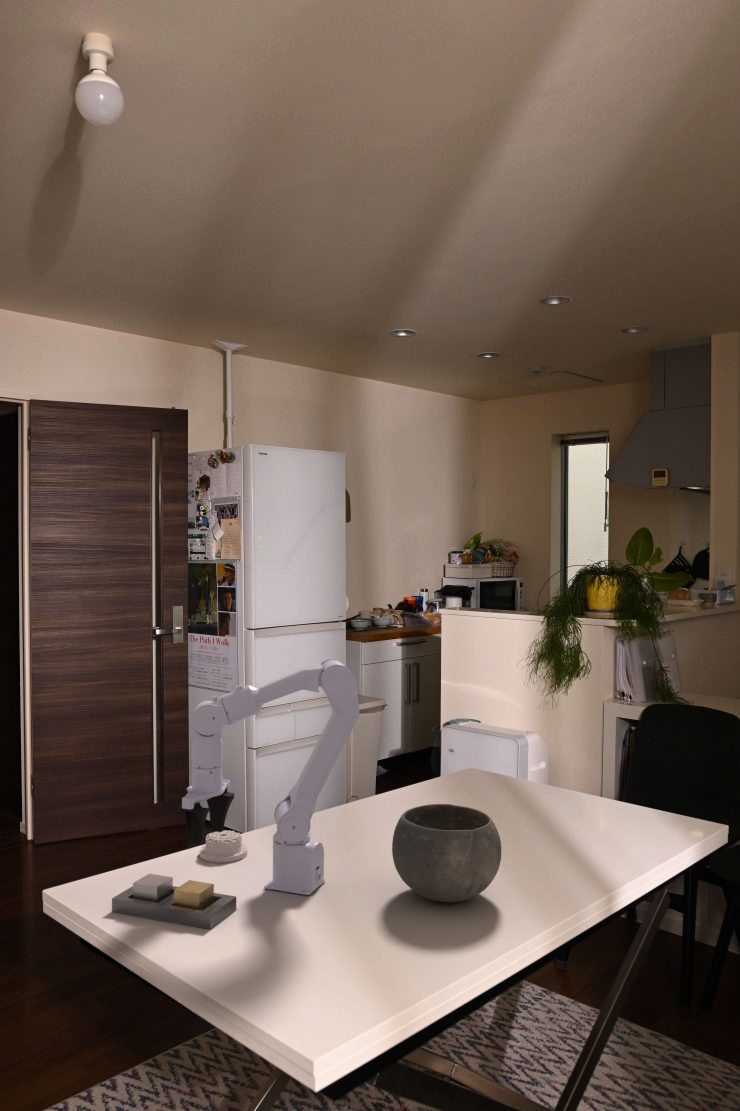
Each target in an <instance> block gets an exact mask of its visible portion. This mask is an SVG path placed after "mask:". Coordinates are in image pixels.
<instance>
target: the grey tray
mask: <svg viewBox="0 0 740 1111" xmlns="http://www.w3.org/2000/svg"><path fill="white" fill-rule="evenodd" d="M178 887H179V886H174V885H173V894H171V895H170V896H168V897H167V898H165V899H164V900H162V901H161V902H159V903H155V902H149V901H143V900H138V899H133V885H132V886H130V887H129V888H127V889H125V890H123V891H122V892H120V893H119V894H117V895H115V896H113V897H112V898H111V913H116V912H117V913H118V914H121V913H122V914H121V915H128V916H133V917H139V918H144V919H150V920H156V921H162V922H166V923H171V924H178V925H184V926H188V927H195V928H200V929H205V930H212V929H213V928H215V927H216V926H217V925H219V924H220V923H221V922H222V921H223V920H225V919H226V918H228V917H229V916H231V915H232V914H233V913H234V912H236V911H237V896H235V895H228V894H223V893H218V892H214V903H213V904H212V905H210V906H209V907H208V908H206V909H205V910H203V911H201V910H195V909H190V908H184V907H178V906H174V890H175V889H176V888H178Z"/></svg>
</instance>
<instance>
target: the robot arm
mask: <svg viewBox="0 0 740 1111" xmlns="http://www.w3.org/2000/svg"><path fill="white" fill-rule="evenodd" d="M320 687H321V690H323V692H324V693H325V695H326V696H327V699H328V703H329V705H330V708H331V711H332V713H331V715H330V717H329V719H328V721H327V723H326V725H325V726H324V729H323V730H322V732H321V734H320V736H319V738H318V740H317V742H316V743H315V745H314V748H313V750H312V752H311V754H310V755H309V758H308V759H307V762H306V763H305V766H304V768H303V769H302V771H301V773H300V775H299V777H298V778H297V781H296V783H295V784H294V785H293V787H292V788H291V789H290V790H289V791H288V792H287V795H286V797H285V798H283V799H282V800H280V801H279V802H278V804H277V805H276V806H275V809H274V812H273V813H274V816H273V817H274V820H275V823H276V832H275V833H274V834H273V835H272V879H271V880H270V881H268V882H267V883H266V884H264V886H263V888H264V889H267V890H273V891H274V890H275V891H279V892H285V893H294V894H299V895H305V896H309V895H311V894H312V893H313V892H314V891H315V890H317V889H318V888H319V887H320V886H321V885H322V884H324V883H325V882H326V879H325V878H324V876H325V875H324V874H325V872H324V870H325V867H324V866H325V865H324V864H325V863H324V862H325V850H324V846H323V843H322V842H320V841H315V840H314V839H313V838H311V837H312V836H311V833H310V831H311V819H312V817H313V815H314V814H315V811H316V806H317V801H318V797H319V796H320V794H321V792H322V790H323V788H324V786H325V784H326V782H327V781H328V778H329V776H330V775H331V772H332V771H333V768H334V767H335V765H336V762H337V761H338V759H339V756H340V755H341V753H342V750H343V749H344V747H345V744H346V743H347V741H348V739H349V737H350V735H351V733H352V732H353V729H354V727H355V725H356V723H357V721H358V719H359V717H360V705H359V696H358V695H359V694H358V687H359V686H358V683H357V680H356V678H355V677H354V674H353V672H352V671H351V670H350V668H348V667H347V665H345V664H344V662H343V661H341V660H340V659H336V658H328V659H325V660H323V661H321V663H320V662H316V663H312V664H309V665H306V666H305V667H301V668H299V669H297V670H294V671H293V672H290V673H288V674H286V675H284V676H282V677H280V678H277V679H274V680H273V681H270V682H268V683H266V684H264V685H262V686H259V687H255V686H252V685H250V684H247V685H245V686H244V685H243V684H238V685H236V687H235V690H232V691H231V692H230V691H229V692H228V693H225V694H223V695H220V696H218V695H213V696H212V698H211V700H203V701H201V702H199V703H198V704H196V707H194V710H193V712H192V716H191V718H192V720H191V723H192V727H193V732H192V738H193V740H192V744H191V746H192V749H191V752H192V754H191V755H192V757H191V761H192V762H191V768H192V769H191V785H190V786H188V787H186V791H187V793H186V795H185V796H183V797H182V798H181V804H180V805H178V812H179V814H180V815H181V817H182V819H183V821H184V823H185V826H186V830H187V833H188V838H189V842H190V844H195V845H201V844H202V843H203V839H204V835H205V834H204V833H205V832H204V831H205V824H206V819H207V816H208V814H209V823H210V829H211V832H222V831H224V827H225V823H226V819H227V815H228V811H229V808H230V807H231V805H232V802H233V800H234V799H235V793H234V792H229V791H230V790H231V785H232V784H231V780H230V779H223V776H224V774H223V771H224V770H223V768H224V767H223V764H224V763H223V762H224V760H223V759H224V758H223V757H224V756H223V755H224V754H223V753H224V742H223V739H222V729H223V727H224V726H230V725H234V724H235V723H238V722H240V721H243V720H245V719H248V718H250V717H252V716H256V715H258V714H260V712H261V710H262V708H263V706H264V705H265V704H267V703H269V702H273V701H275V700H278V699H281V698H283V697H286V696H288V695H291V694H294V693H297V692H300V691H302V690H304V691H309V692H314V693H317V694H318V693H319V692H320V689H319V688H320ZM205 801H206V804H207V807H203V805H201V803H203V802H205Z"/></svg>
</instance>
